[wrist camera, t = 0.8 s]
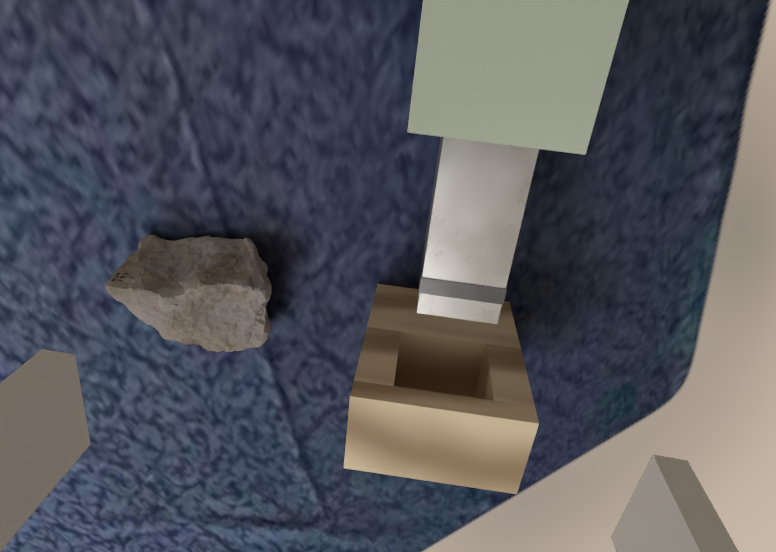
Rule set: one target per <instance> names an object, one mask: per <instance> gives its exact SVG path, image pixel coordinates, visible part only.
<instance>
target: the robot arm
mask: <svg viewBox="0 0 776 552" xmlns="http://www.w3.org/2000/svg"><path fill="white" fill-rule="evenodd" d="M89 445H90V439H89V433H88V428H87V422H86V416H85V410H84V404H83V398H82V393H81V387H80V381H79V375H78V369H77V363H76V358H75V355H73V354H67V353H61V352H56V351H50V350H44V349H42V350H41V351H39V352H38V353H37V354H36V355H35V356H33V357H32V358H31V359H30V360H28V361H27V362H26V363H25V364H23V365H22V366H21V367H20V368H19V369H17V370H16V371H15V372H14V373H12V374H11V375H10V376H9V377H7V378H6V379H5V380H4V381H2V382H1V383H0V551H1V550H2V549H3V548H4V547H5V545H6V544H7V543H8V542H9V541H10V539H11V538H12V537H13V536H14V535H15V533H16V532H17V531H18V530H19V529H20V527H21V526H22V525H23V524H24V523H25V522H26V520H27V519H28V518H29V517H30V516H31V514H32V513H33V512H34V511H35V510H36V508H37V507H38V506H39V505H40V504H41V502H42V501H43V500H44V499H45V498H46V496H47V495H48V494H49V493H50V492H51V490H52V489H53V488H54V487H55V486H56V485H57V483H58V482H59V481H60V480H61V479H62V477H63V476H64V475H65V474H66V473H67V471H68V470H69V469H70V468H71V467H72V465H73V464H74V463H75V462H76V461H77V459H78V458H79V457H80V456H81V455H82V454H83V452H84V451H85V450H86V449H87V448H88V446H89ZM611 537H612V540H613V543H614V546H615V549H616V552H739V551H738V550H737V548H736V546H735V545H734V543H733V541H732V539H731V537H730V536H729V534H728V532H727V530H726V528H725V527H724V525H723V523H722V521H721V519H720V518H719V516H718V514H717V512H716V511H715V509H714V507H713V505H712V503H711V502H710V500H709V498H708V496H707V495H706V493H705V491H704V489H703V487H702V486H701V484H700V482H699V480H698V479H697V477H696V475H695V473H694V472H693V470H692V468H691V466H690V465H689V463H688V461H686V460H680V459H675V458H669V457H664V456H658V455H652V457H651V459H650V461H649V463H648V465H647V467H646V469H645V471H644V473H643V475H642V477H641V479H640V481H639V483H638V484H637V486H636V488H635V491H634V493H633V494H632V497H631V498H630V500H629V502H628V504H627V506H626V508H625V510H624V512H623V514H622V516H621V518H620V520H619V522H618V524H617V526H616V528H615V530H614V532H613V534H612V536H611Z"/></svg>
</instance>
